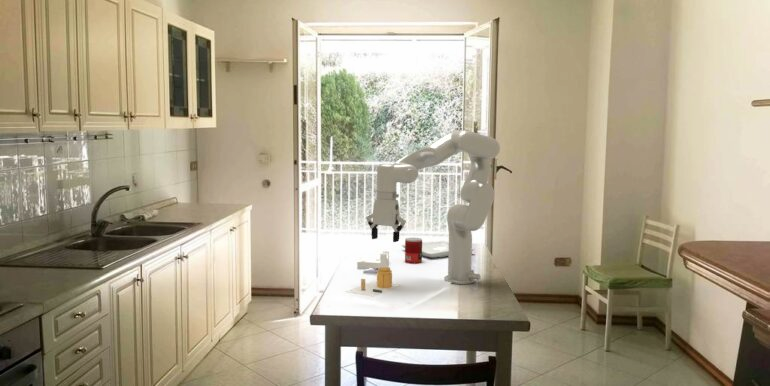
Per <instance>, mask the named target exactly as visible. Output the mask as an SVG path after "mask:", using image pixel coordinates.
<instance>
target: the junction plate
mask: <svg viewBox="0 0 770 386" xmlns="http://www.w3.org/2000/svg"><path fill="white" fill-rule="evenodd" d="M398 286H399V284H398V283H392V287H390V288H380V287H377V280H372V281H369V282H366V278H361V279H360V285H359V286H357V287H354V288H352V289H349V290H346V291H345V293H351V294H356V295H362V296H369V297H375V296H377V295H379V294H382V293H384V292H386V291H389V290H391V289H393V288H395V287H398Z"/></svg>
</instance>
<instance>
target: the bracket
mask: <svg viewBox="0 0 770 386" xmlns="http://www.w3.org/2000/svg"><path fill="white" fill-rule="evenodd" d="M379 255H380V259H377V258H376V259H375V258H374V259H373V258H360V259H359V260H358V261H357V262H356V265H357V267H356V269H357V270H366V269H369V268H380V267H389V265H390V263H389V262H390V251H389V250H382V253H380V254H379Z"/></svg>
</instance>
